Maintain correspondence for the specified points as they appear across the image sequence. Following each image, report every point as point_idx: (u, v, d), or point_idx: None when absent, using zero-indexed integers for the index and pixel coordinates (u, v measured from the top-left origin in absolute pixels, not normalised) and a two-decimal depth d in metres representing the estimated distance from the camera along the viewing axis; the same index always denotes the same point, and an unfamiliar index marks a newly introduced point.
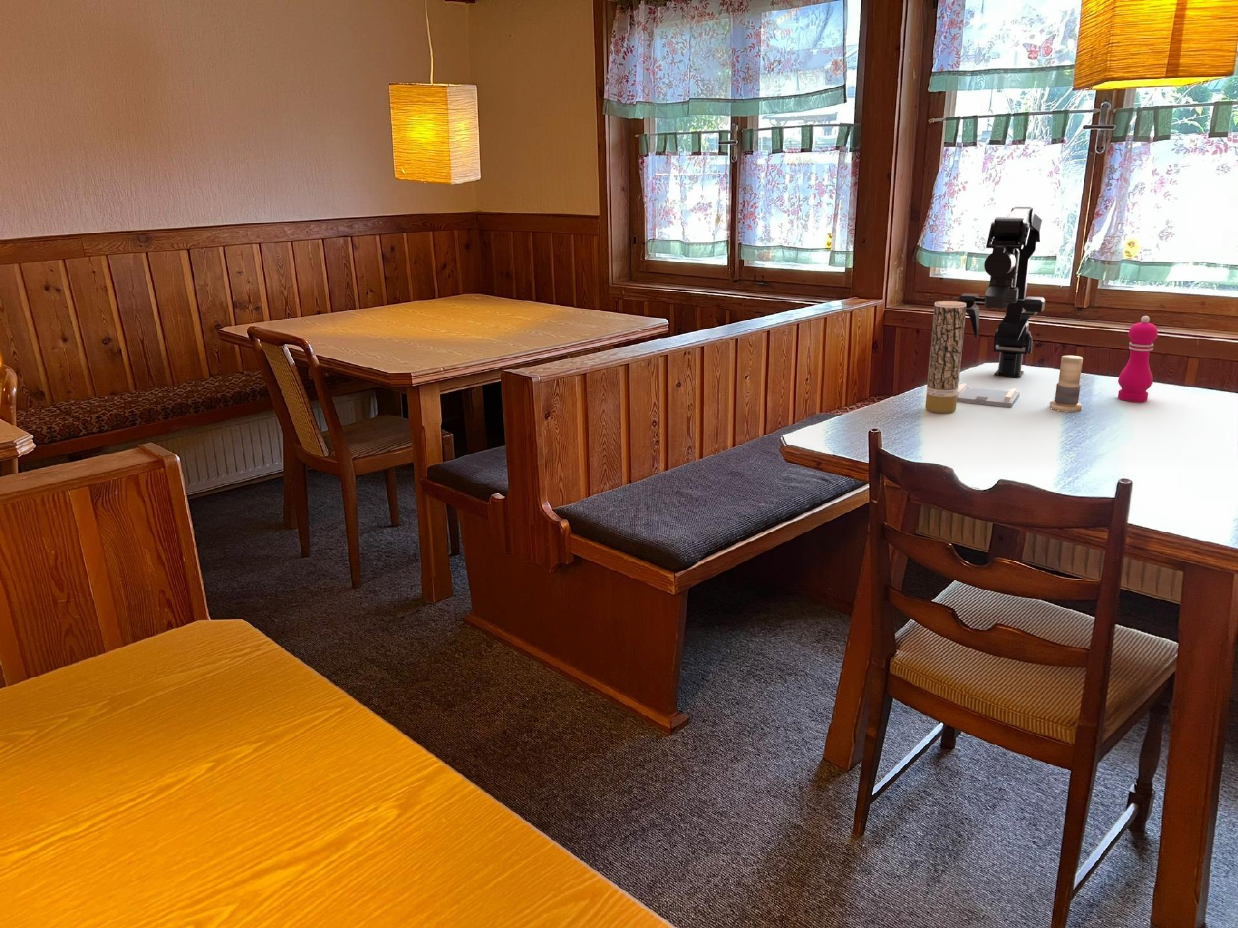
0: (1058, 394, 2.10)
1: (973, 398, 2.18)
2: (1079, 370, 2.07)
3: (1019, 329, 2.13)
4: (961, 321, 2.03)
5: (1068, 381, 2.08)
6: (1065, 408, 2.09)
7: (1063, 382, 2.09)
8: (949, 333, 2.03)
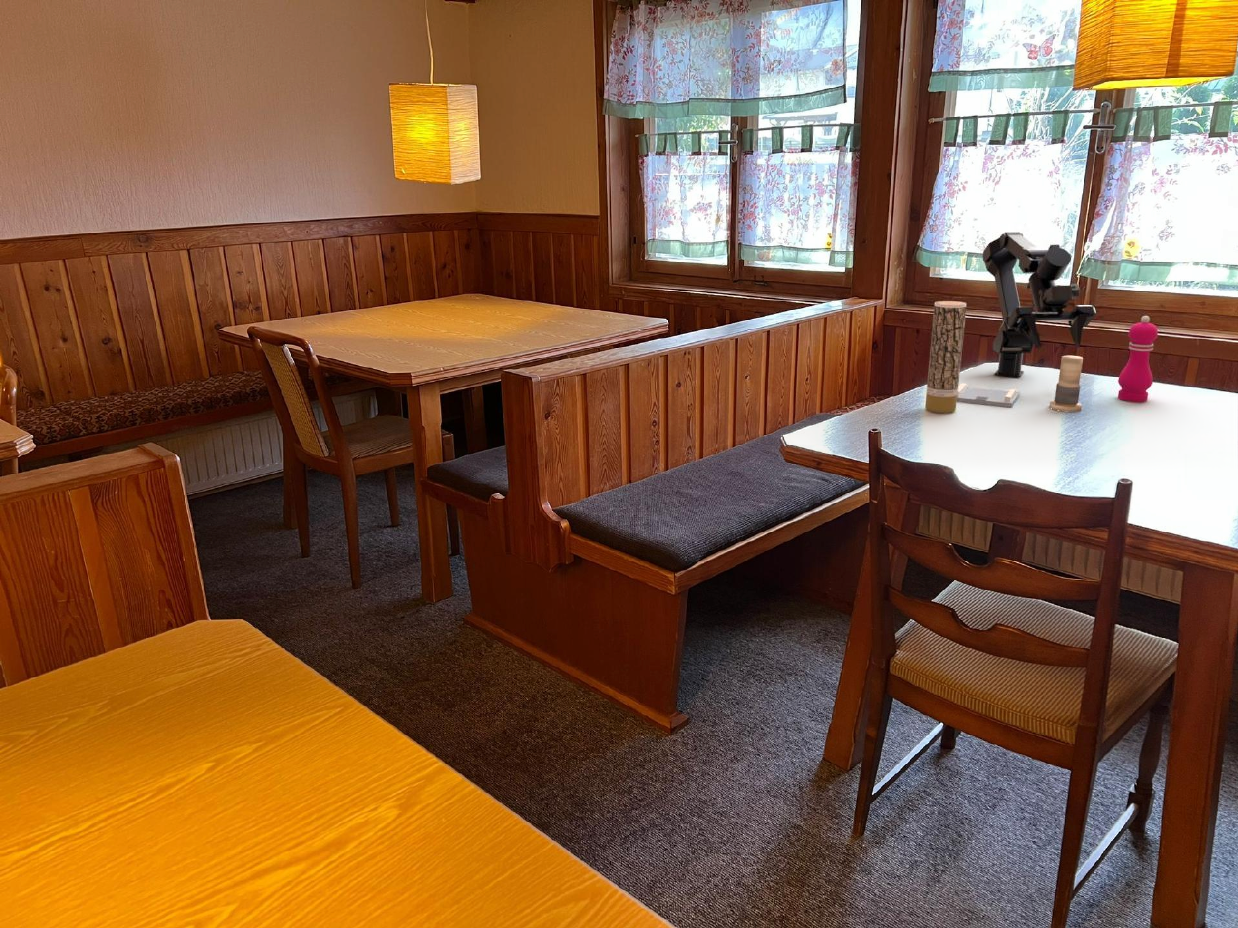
0: (1058, 394, 2.10)
1: (973, 398, 2.18)
2: (1079, 370, 2.07)
3: (1079, 333, 2.15)
4: (962, 321, 2.03)
5: (1068, 381, 2.08)
6: (1065, 408, 2.09)
7: (1063, 382, 2.09)
8: (949, 333, 2.03)
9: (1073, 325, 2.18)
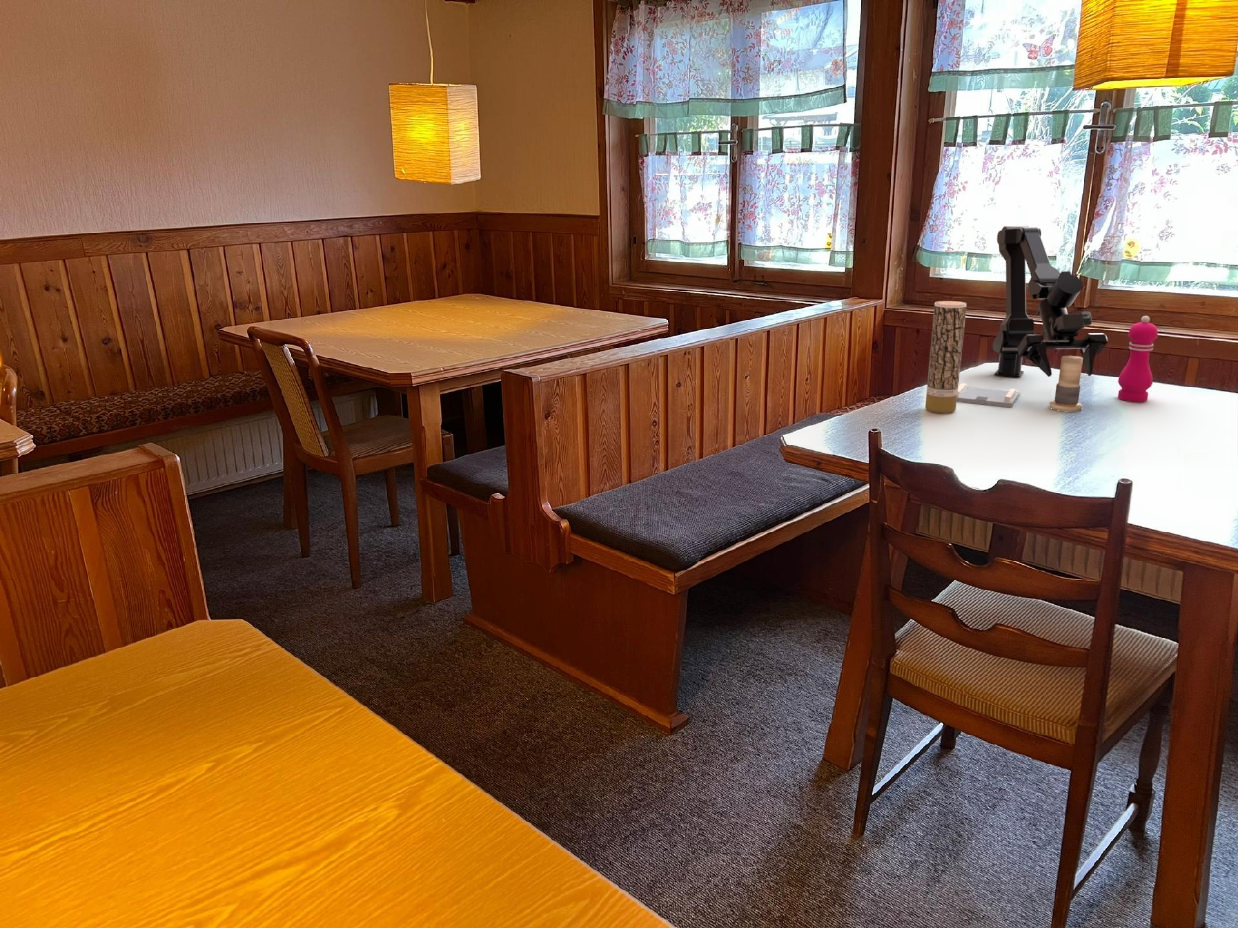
0: (1058, 394, 2.10)
1: (973, 398, 2.18)
2: (1079, 370, 2.07)
3: (1091, 362, 2.09)
4: (962, 321, 2.03)
5: (1068, 381, 2.08)
6: (1065, 408, 2.09)
7: (1062, 382, 2.09)
8: (949, 333, 2.03)
9: (1085, 353, 2.12)
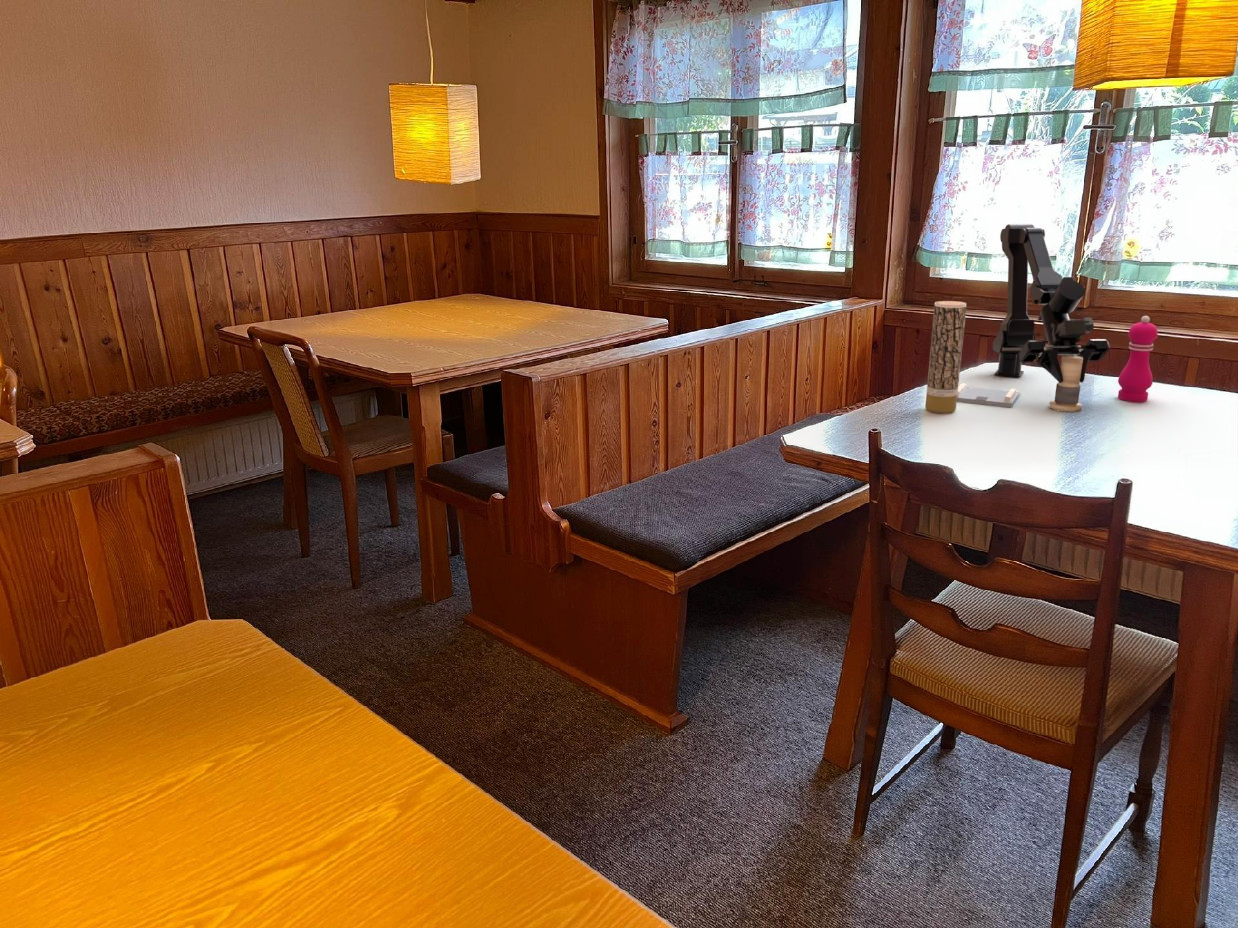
0: (1058, 394, 2.10)
1: (973, 398, 2.18)
2: (1079, 370, 2.07)
3: (1083, 368, 2.09)
4: (962, 321, 2.03)
5: (1068, 381, 2.08)
6: (1065, 408, 2.09)
7: (1063, 382, 2.09)
8: (949, 333, 2.03)
9: None
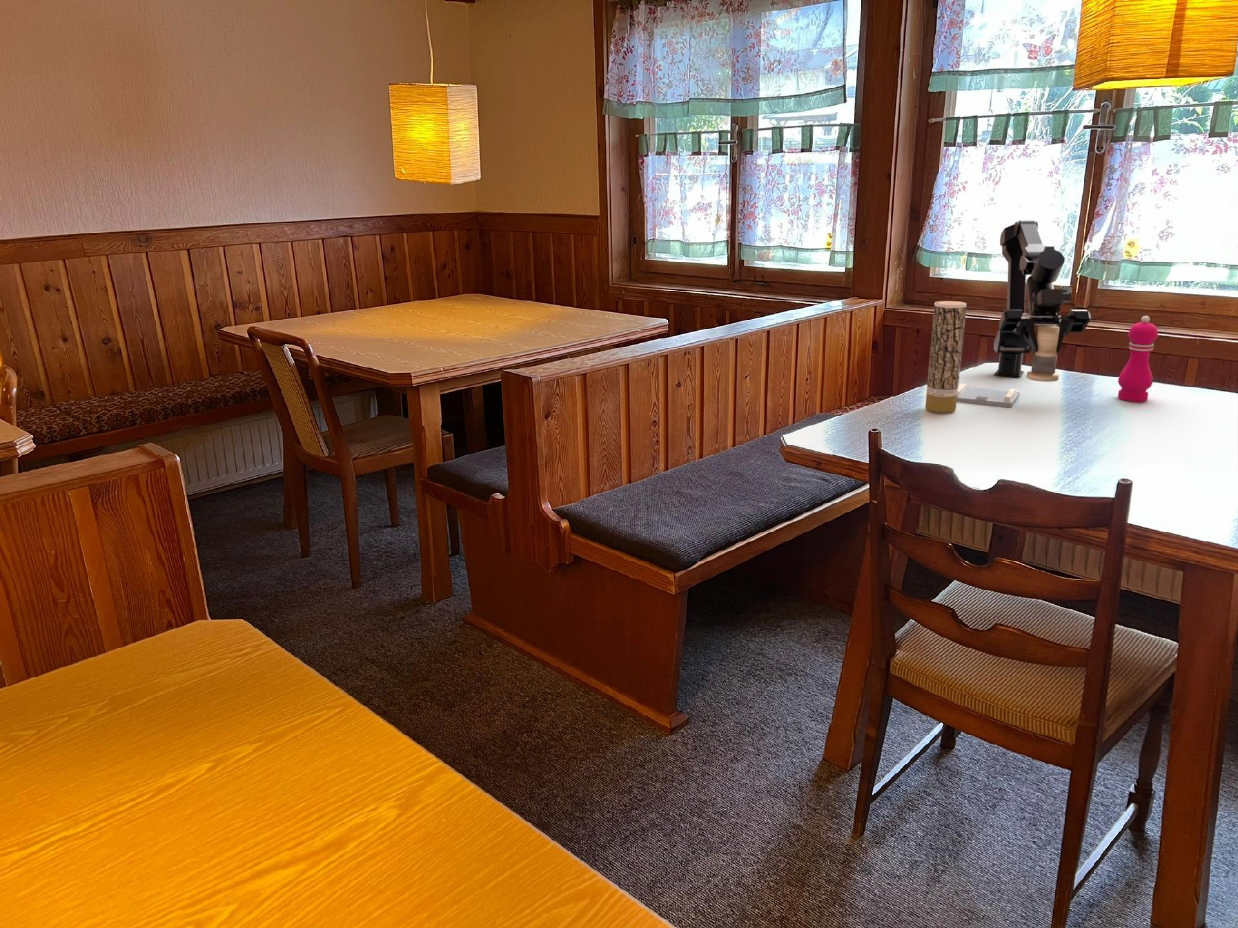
0: (1034, 363, 2.10)
1: (973, 398, 2.18)
2: (1054, 340, 2.07)
3: (1060, 338, 2.08)
4: (962, 321, 2.03)
5: (1043, 350, 2.08)
6: (1039, 377, 2.09)
7: (1038, 351, 2.09)
8: (949, 333, 2.03)
9: None
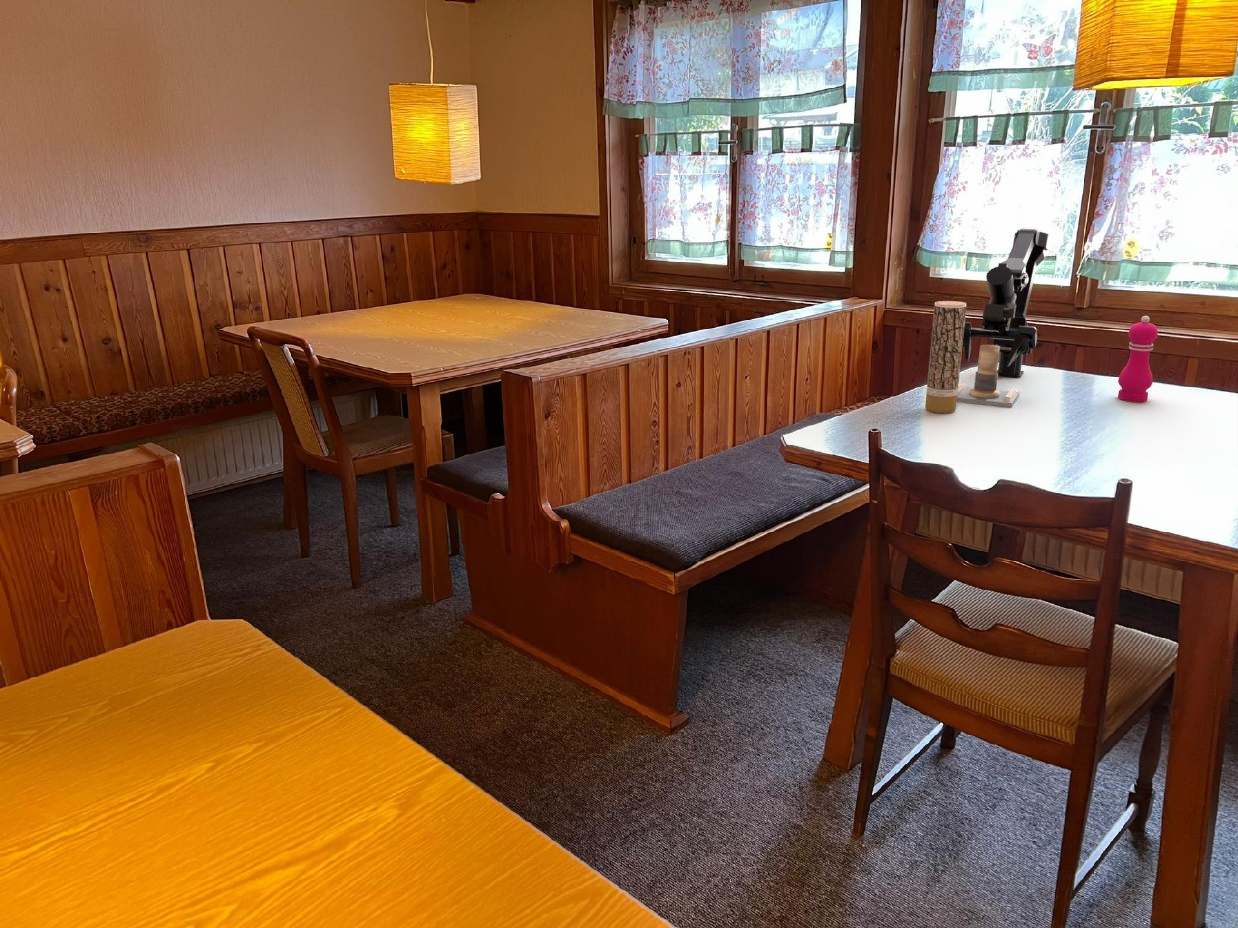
0: (975, 380, 2.20)
1: (973, 398, 2.18)
2: (992, 358, 2.16)
3: (1011, 353, 2.14)
4: (961, 321, 2.03)
5: (981, 368, 2.17)
6: (976, 393, 2.18)
7: (978, 368, 2.19)
8: (949, 333, 2.03)
9: None
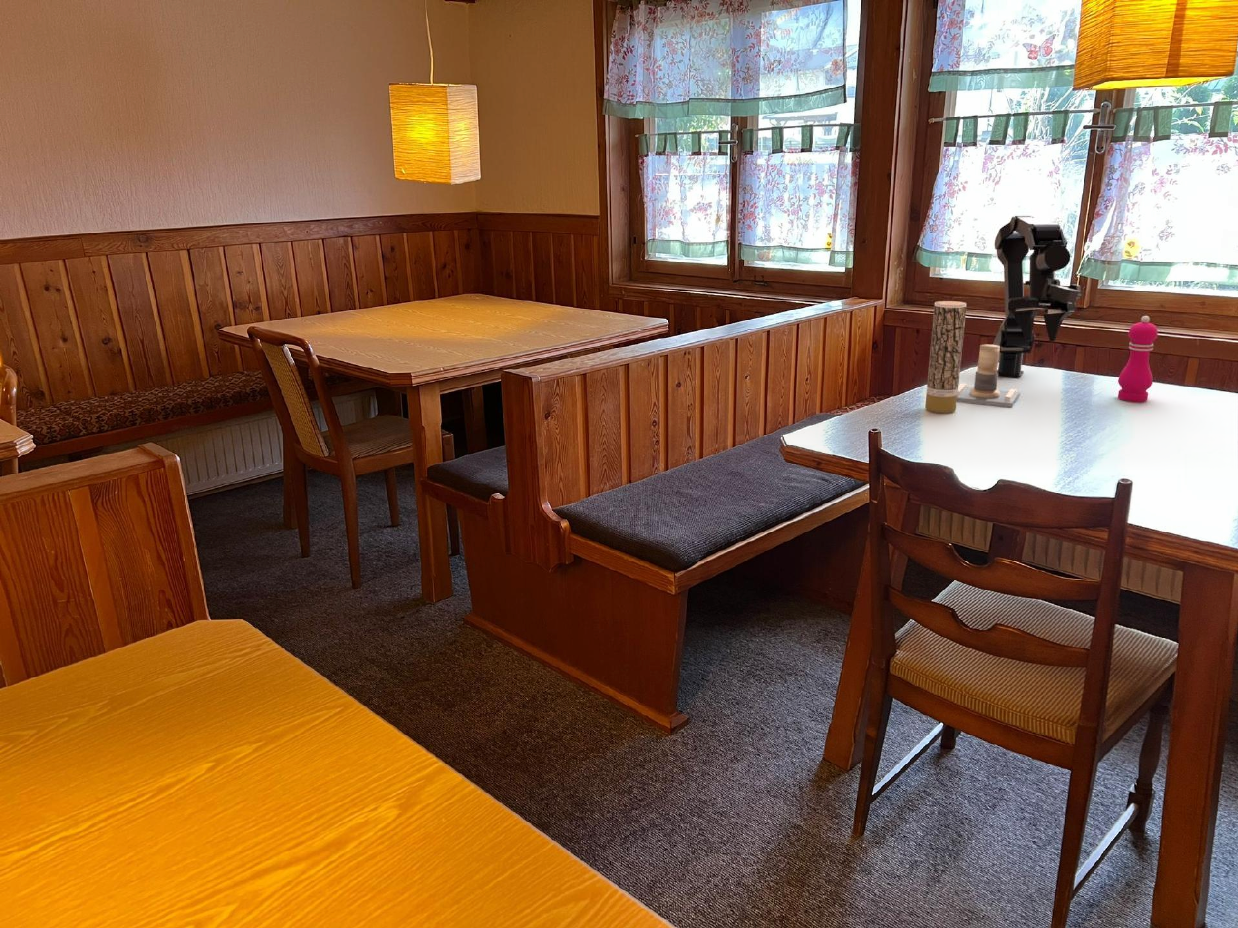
0: (975, 380, 2.20)
1: (973, 398, 2.18)
2: (992, 358, 2.16)
3: (1057, 330, 2.22)
4: (962, 321, 2.03)
5: (981, 368, 2.17)
6: (976, 393, 2.18)
7: (978, 368, 2.19)
8: (949, 333, 2.03)
9: (1052, 316, 2.23)
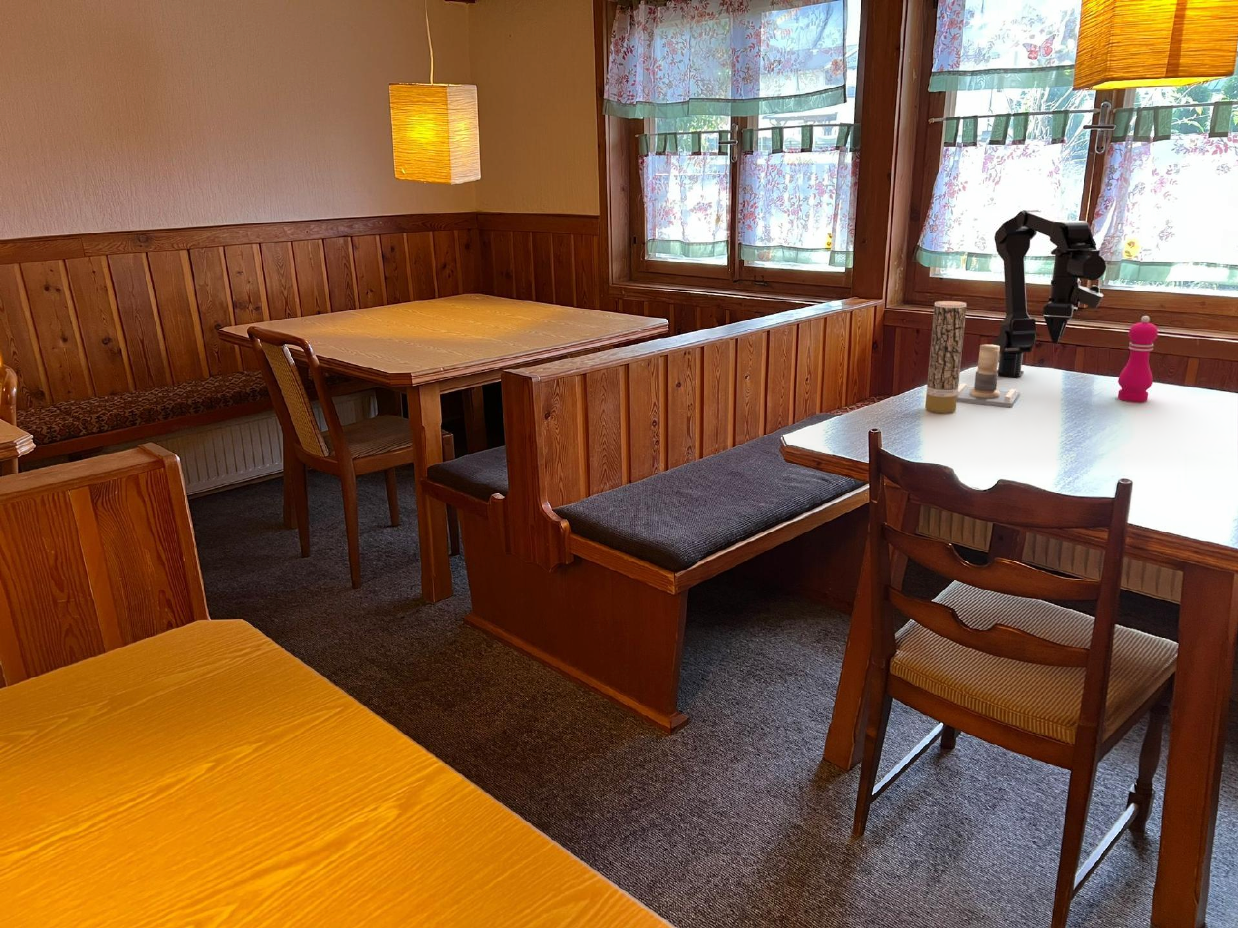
0: (975, 380, 2.20)
1: (973, 398, 2.18)
2: (992, 358, 2.16)
3: None
4: (962, 321, 2.03)
5: (981, 368, 2.17)
6: (976, 393, 2.18)
7: (978, 368, 2.19)
8: (949, 333, 2.03)
9: None
